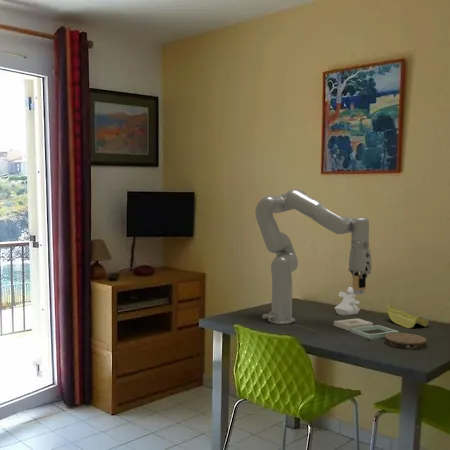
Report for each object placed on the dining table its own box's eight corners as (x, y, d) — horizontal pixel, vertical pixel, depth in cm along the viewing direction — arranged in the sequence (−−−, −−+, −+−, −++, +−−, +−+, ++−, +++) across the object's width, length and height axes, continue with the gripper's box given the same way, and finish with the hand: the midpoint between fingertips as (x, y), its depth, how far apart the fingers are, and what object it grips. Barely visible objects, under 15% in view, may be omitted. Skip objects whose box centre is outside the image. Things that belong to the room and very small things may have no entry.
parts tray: (369, 341, 218) (370, 335, 218) (350, 334, 228) (350, 328, 228) (398, 337, 225) (398, 331, 225) (378, 330, 236) (378, 325, 236)
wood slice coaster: (381, 339, 222) (381, 332, 222) (420, 340, 221) (420, 333, 221) (389, 349, 207) (389, 342, 207) (431, 351, 205) (431, 343, 205)
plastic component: (431, 322, 244) (417, 314, 240) (424, 336, 243) (410, 329, 239) (399, 310, 262) (386, 303, 257) (393, 324, 261) (380, 317, 257)
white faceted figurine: (352, 318, 260) (353, 290, 259) (331, 313, 271) (331, 286, 270) (363, 316, 265) (364, 289, 264) (342, 311, 276) (343, 285, 275)
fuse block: (348, 332, 231) (348, 325, 231) (333, 327, 240) (333, 321, 240) (372, 329, 237) (372, 322, 237) (357, 324, 246) (357, 318, 246)
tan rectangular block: (357, 294, 233) (357, 276, 232) (352, 293, 235) (352, 275, 235) (365, 293, 235) (366, 275, 235) (361, 292, 238) (361, 274, 237)
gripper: (379, 246, 229) (378, 289, 230) (353, 244, 243) (353, 283, 244) (366, 247, 225) (365, 290, 226) (341, 244, 240) (340, 284, 241)
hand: (359, 286), depth 235 cm, fingers closed on tan rectangular block, 3 cm apart
